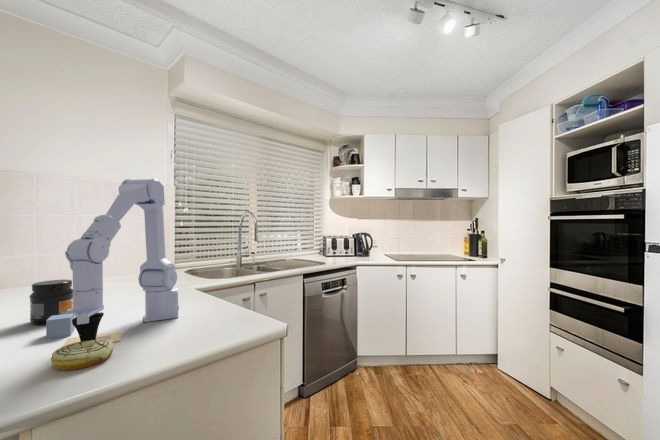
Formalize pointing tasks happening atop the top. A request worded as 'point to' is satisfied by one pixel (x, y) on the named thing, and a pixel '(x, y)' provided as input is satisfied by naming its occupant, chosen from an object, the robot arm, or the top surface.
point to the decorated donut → (81, 354)
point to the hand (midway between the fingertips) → (88, 346)
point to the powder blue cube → (59, 326)
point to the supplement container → (50, 300)
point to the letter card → (98, 337)
